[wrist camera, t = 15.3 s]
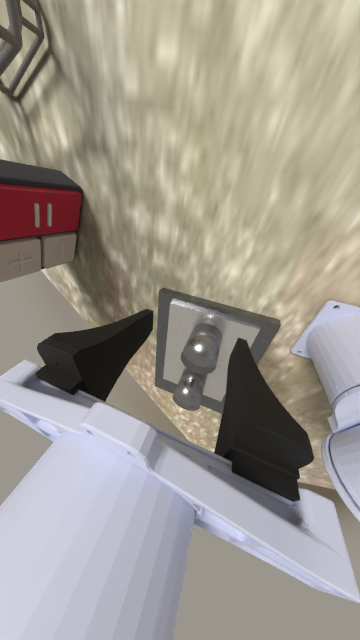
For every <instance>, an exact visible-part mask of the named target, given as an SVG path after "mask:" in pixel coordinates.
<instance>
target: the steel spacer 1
mask: <svg viewBox="0 0 360 640" xmlns="http://www.w3.org/2000/svg"><path fill="white" fill-rule="evenodd" d="M221 343H222V334H221V332H220V330H219V329H218V328H216V327H215V326H213V325H211V324H207V323H202V324H198V325H196V326H195V327H194V328H193V330H192V332H191V334H190V336H189V339H188V341H187V343H186V345H185V347H184V349H183V351H182V353H181V361H182V363H183V364H184V366H185V367H186V368H188V369H189V370H190V371H192V372H195V373H198V374H209V373H212V372H213V371H214V370H215V369H216V365H217V361H218V356H219V352H220V347H221Z"/></svg>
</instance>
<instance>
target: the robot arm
mask: <svg viewBox="0 0 360 640" xmlns="http://www.w3.org/2000/svg"><path fill="white" fill-rule="evenodd" d="M336 305H338V307H337V308H333V307H334V306H336ZM152 330H153V311H152V310H148V309H145V310H143V311H141V312H138V313H136V314H134V315H132V316H129V317H127V318H125V319H122V320H119V321H117V322H114V323H111V324H108V325H104V326H101V327H96V328H92V329H88V330H81V331H74V332H65V333H55V334H53V335H52V336H50V337H48V338H47V339H45V340H44V341H42V342H41V343H39V344H38V346H37V350H38V352H39V354H40V356H41V357H42V359H43V361H44V362H45V364H46V365H45V366H44V367H42V368H41V367H40V366H39V365H37V364H35V363H33V362H30V361H28V360H24V361H23V362H21V363H20V364H18V365H17V366H15V367H14V368H12V369H11V370H9V371H8V372H6V373H5V374H3V375H2V376H0V408H1V409H2V410H3V411H5V412H7V413H8V414H10V415H12V416H13V417H15V418H17V419H18V420H20V421H22V422H23V423H25V424H26V425H28V426H30V427H31V428H33V429H34V430H36V431H38V432H39V433H41V434H42V435H44V436H45V437H47V438H49V439H50V440H52V441H53V442H54V443H53V444H52V445H51V446H50V448H49V449H48V450H47V451H46V452H45V453H44V455H43V456H42V457H41V458H40V459H39V461H38V462H37V463H36V464H35V465H34V467H33V468H32V469H31V470H30V471H29V472H28V474H27V475H26V476H25V477H24V478H23V480H22V481H21V482H20V483H19V485H18V486H17V487H16V488H15V489H14V490H13V492H12V493H11V494H10V495H9V497H8V498H7V499H6V500H5V501H4V502H3V503H2V505H1V506H0V640H173V634H174V629H175V623H176V617H177V612H178V607H179V600H180V595H181V590H182V585H183V579H184V573H185V568H186V562H187V557H188V551H189V546H190V540H191V535H192V529H193V524H195V525H197V526H200V527H201V528H203V529H205V530H207V531H209V532H211V533H213V534H215V535H217V536H218V537H220V538H222V539H224V540H226V541H228V542H230V543H232V544H234V545H235V546H237V547H239V548H241V549H243V550H245V551H247V552H249V553H251V554H253V555H255V556H256V557H258V558H260V559H262V560H264V561H266V562H268V563H269V564H271V565H273V566H275V567H277V568H279V569H280V570H282V571H284V572H286V573H288V574H290V575H291V576H293V577H295V578H297V579H298V580H300V581H302V582H304V583H306V584H307V585H309V586H311V587H313V588H314V589H317V590H320V591H323V592H327V593H330V594H332V595H336V596H339V597H342V598H345V599H348V600H352V601H355V602H358V603H360V595H359V591H358V587H357V584H356V580H355V576H354V573H353V569H352V566H351V562H350V559H349V555H348V552H347V548H346V545H345V541H344V537H343V534H342V530H341V528H340V523H339V520H338V516H337V513H336V509H335V505H334V503H333V502H332V501H331V500H329V499H327V498H325V497H323V496H321V495H319V494H316V493H314V492H312V491H310V490H308V489H305V488H298V484H297V479H299V478H300V475H299V470H298V469H299V468H301V467H304V466H306V465H308V464H310V463H311V462H312V461H313V459H314V455H313V451H312V447H311V443H310V440H309V437H308V434H307V433H306V431H305V430H304V429H303V428H302V427H301V426H300V425H299V424H298V423H297V422H296V421H295V420H294V419H293V418H292V416H291V415H290V414H289V413H288V412H287V410H286V409H285V408H284V407H283V406H282V404H281V403H280V402H279V401H278V399H277V398H276V396H275V395H274V394H273V392H272V391H271V390H270V388H269V387H268V385H267V383H266V382H265V380H264V378H263V377H262V375H261V373H260V371H259V369H258V367H257V365H256V363H255V360H254V358H253V356H252V353H251V351H250V348H249V345H248V342H247V340H245V339H241V338H238V339H237V341H236V344H235V346H234V348H233V350H232V352H231V355H230V358H229V363H228V370H227V384H226V396H225V402H224V408H223V413H222V419H221V424H220V429H219V433H218V438H217V443H216V447H215V452H214V453H212V452H210V451H208V450H206V449H204V448H202V447H200V446H198V445H195V444H193V443H191V442H189V441H187V440H185V439H182V438H181V437H178V436H176V435H174V434H172V433H170V432H168V431H166V430H164V429H161V428H159V427H157V426H155V425H153V424H151V423H149V422H147V421H144V420H142V419H140V418H138V417H136V416H134V415H132V414H129V413H127V412H125V411H123V410H121V409H119V408H117V407H115V406H113V405H110V404H108V403H106V402H105V401H106V398H107V397H108V395H109V393H110V392H111V390H112V388H113V386H114V384H115V383H116V381H117V379H118V378H119V376H120V375H121V373H122V371H123V369H124V368H125V367H126V365H127V364H128V362H129V361H130V359H131V358H132V357H133V355H134V354H135V353H136V352H137V350H138V349H139V348H140V347H141V346H142V344H143V343H144V342H145V341H146V339H147V338H148V336H149V335H150V333H151V331H152ZM290 350H291V353H293V354H296V355H299V356H302V357H306V358H309V359H312V361H313V363H314V366H315V368H316V371H317V373H318V376H319V378H320V381H321V383H322V386H323V388H324V391H325V393H326V396H327V398H328V401H329V403H330V406H331V408H332V410H333V413H332V415H331V416H330V417H328V418H327V419H328V422H329V424H330V427H331V430H332V432H331V433H329V434H327V435H326V436H325V437H324V439H323V441H322V446H321V451H322V458H323V461H324V465H325V468H326V470H327V473H328V475H329V477H330V479H331V481H332V483H333V485H334V487H335V489H336V490H337V492H338V494H339V495H340V497H341V498H342V500H343V501H344V503H345V504H346V505H347V507H348V508H349V509H350V511H351V512H352V513H353V515H354V516H355V517H356V518H357V519H358V520H359V522H360V307H358V306H354V305H349V304H345V303H341V302H337V301H327V302H326V303H325V304H324V305H323V307H322V308H321V309H320V310H319V312H318V313H317V314H316V316H315V317H314V318H313V320H312V321H311V322H310V324H309V325H308V326H307V328H306V329H305V330H304V332H303V333H302V334H301V336H300V337H299V338H298V339H297V341H296V342H295V343H294V345H293V346H292V347H291V349H290ZM298 351H301V352H298Z"/></svg>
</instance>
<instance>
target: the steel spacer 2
mask: <svg viewBox="0 0 360 640" xmlns="http://www.w3.org/2000/svg"><path fill="white" fill-rule="evenodd" d="M205 383H206V376H205V374H198V373H195V372H192V371H190V370H189V369H188V368H186V369H184V371H183V373H182V375H181V378H180V380H179V382H178V385H177V387H176V390H175V392H174V394H173V400H174V402H175V403H176V404H177V405H179V406H180V407H182V408H184V409H186V410H191V411H194V410H197V409H199V406H200V403H201V399H202V395H203V391H204V387H205Z"/></svg>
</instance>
